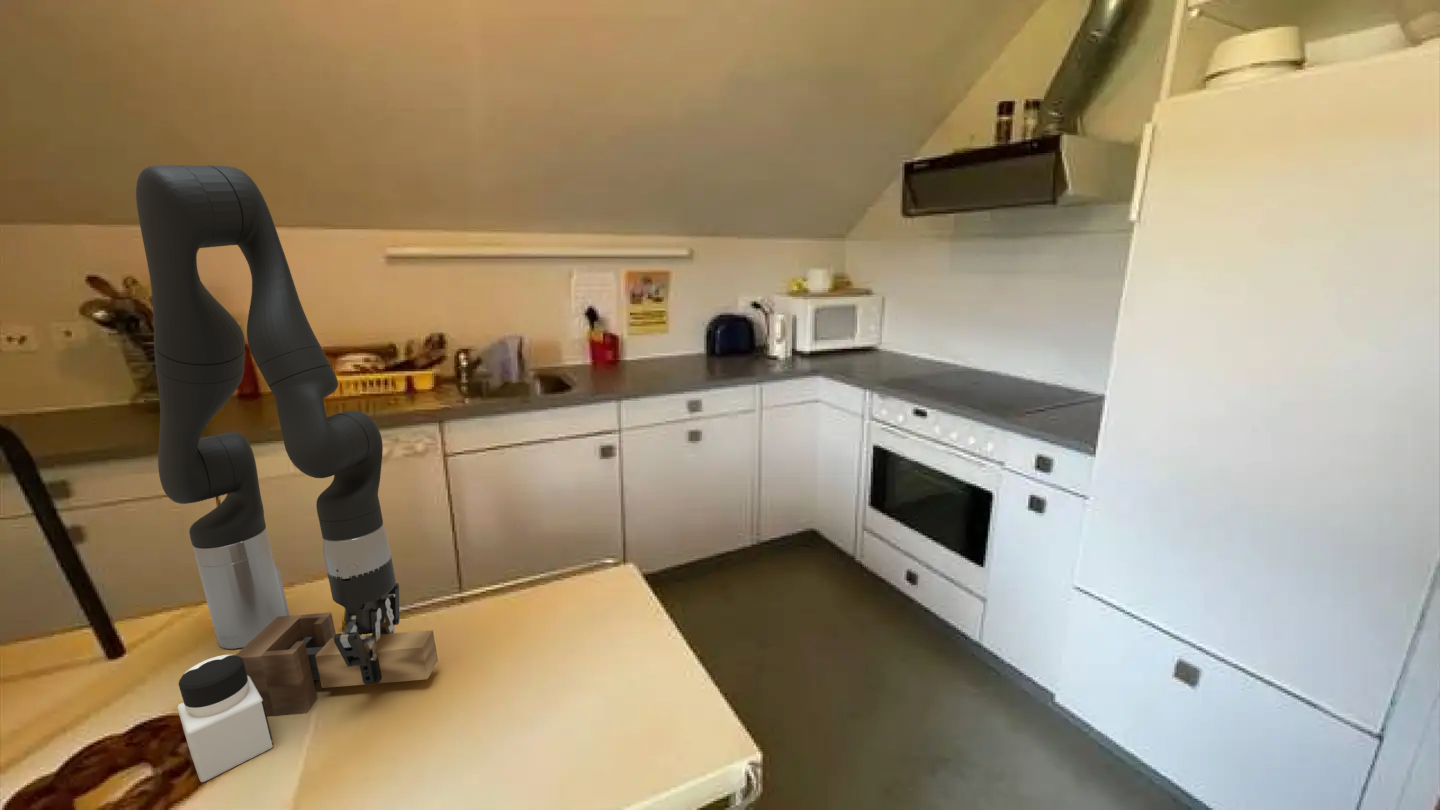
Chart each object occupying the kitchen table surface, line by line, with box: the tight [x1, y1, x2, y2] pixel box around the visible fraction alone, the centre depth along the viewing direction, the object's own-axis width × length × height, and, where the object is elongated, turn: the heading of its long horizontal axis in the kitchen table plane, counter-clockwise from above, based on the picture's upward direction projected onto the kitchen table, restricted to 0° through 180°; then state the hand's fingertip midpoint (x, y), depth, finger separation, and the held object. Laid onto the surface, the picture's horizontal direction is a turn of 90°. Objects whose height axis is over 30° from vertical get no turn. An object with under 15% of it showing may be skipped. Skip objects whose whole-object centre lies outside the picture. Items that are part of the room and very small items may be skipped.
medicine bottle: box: [177, 654, 274, 783], centre depth 74 cm, size 7×7×12 cm
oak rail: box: [302, 629, 439, 689], centre depth 85 cm, size 18×6×5 cm, turn 95°
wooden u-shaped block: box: [235, 612, 337, 717], centre depth 84 cm, size 8×10×9 cm
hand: (380, 671), depth 86 cm, fingers closed on oak rail, 4 cm apart
